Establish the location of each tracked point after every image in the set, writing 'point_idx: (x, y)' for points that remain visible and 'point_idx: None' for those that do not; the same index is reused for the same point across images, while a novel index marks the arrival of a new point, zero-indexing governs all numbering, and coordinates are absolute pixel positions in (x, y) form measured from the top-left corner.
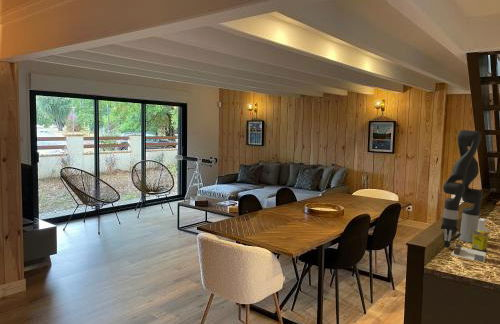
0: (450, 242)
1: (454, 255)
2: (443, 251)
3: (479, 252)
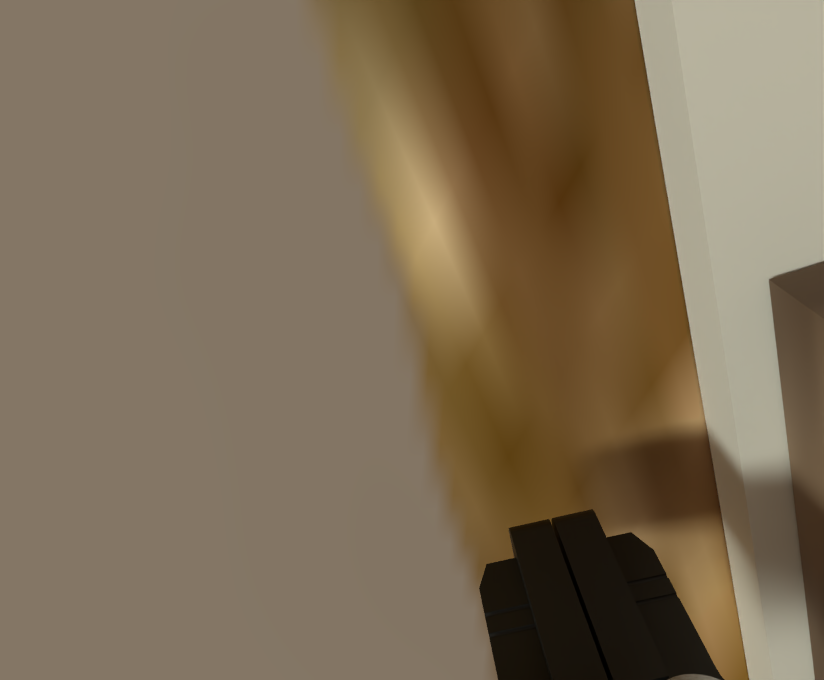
0: (704, 646)
1: None
2: None
3: None
